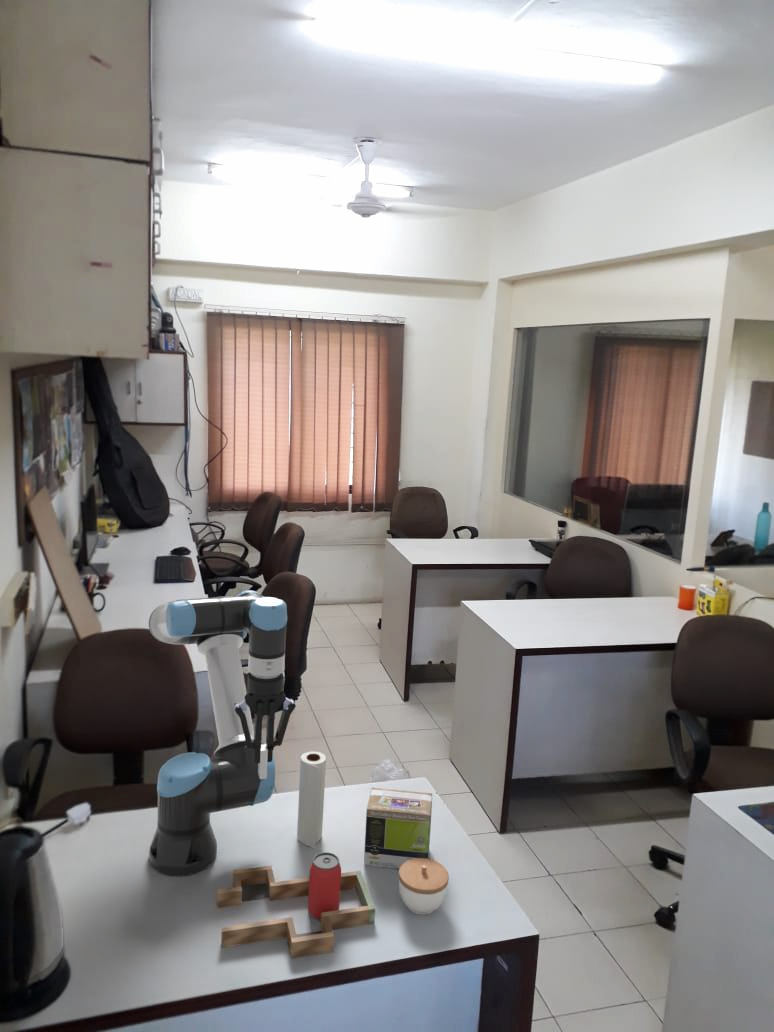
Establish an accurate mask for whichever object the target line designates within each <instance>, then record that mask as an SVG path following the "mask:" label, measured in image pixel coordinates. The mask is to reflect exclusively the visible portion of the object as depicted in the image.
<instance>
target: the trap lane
mask: <svg viewBox="0 0 774 1032" xmlns="http://www.w3.org/2000/svg"><path fill="white" fill-rule="evenodd" d="M349 890H355V891H356V894H357V896H358V900H359V901H360V904H361V906H357V907H349V908H343V909H339V910H336V911H329V912H322V913H321V920H320V930H317V931H310V932H305V933H299V934H297V932H296V928H295V927H296V926H295V923H294V919H293V916H290V917H283V918H277V919H269V920H261V921H256V922H247V923H244V924H235V925H229V926H228V925H227V926H222V927H221V936H220V937H221V939H220V941H221V943H220V944H221V948H226V947H234V946H238V945H239V946H240V945H245V944H251V943H258V942H264V941H266V942H267V941H271V940H277V939H283V938H284V939H285V938H286V941H287V946H288V950H289V954H290V959H296V958H302V957H307V956H309V957H310V956H313V955H319V954H320V955H321V954H326V953H333V952H335V951H334V947H335V933H334V931H336V930H340V929H349V928H354V927H362V926H366V925H367V926H368V925H373V924H374V925H375V921H376V920H375V918H376V907H375V904H374V902H373V899H372V896H371V894H370V892H369V888H368V886H367V884H366V882H365V879H364V876H363V874H362V872H361V870H355V871H347V872H341V884H340V892H342V891H349ZM216 893H217V894H216V896H217V897H216V908H217V909H222V908H229V907H235V906H237V907H238V906H242V903H243V902H249V901H255V900H263V899H264V900H265V899H269V902H270V901H271V902H272V901H273V902H274V901H277V900H278V901H279V900H287V899H292V898H299V897H309V877H305V878H296V879H288V880H280V881H276V879H275V876H274V870H273V866H272V865H270V864H269V865H264V866H257V867H249V868H243V869H242V868H239V869H233V870H232V887H229V888H227V887H226V888H221V889H220V888H219V889H217V892H216Z"/></svg>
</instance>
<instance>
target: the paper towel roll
mask: <svg viewBox="0 0 774 1032" xmlns="http://www.w3.org/2000/svg"><path fill="white" fill-rule="evenodd" d="M326 764H327V757H326V755H325V754H324V753H323V752H320V751H312V750H311V751H307V752H304V753H302V754H301V756H300V765H299V786H298V789H299V790H298V809H297V810H298V811H297V827H296V828H297V829H296V836H297V839H298V841H300V842H301V843H302V844H304V845H305V846H308V847H311V848H313V849H314V850H315V849H316V843H318V842H319V841H320V840H321V839H322V836H323V826H324V825H323V822H324V804H325V803H324V802H325V785H326V784H325V783H326V767H327V765H326Z"/></svg>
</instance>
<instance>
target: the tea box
mask: <svg viewBox="0 0 774 1032" xmlns="http://www.w3.org/2000/svg"><path fill="white" fill-rule="evenodd" d="M432 805H433V793H430V792H422V791H413V790H411V791H410V790H409V791H408V790H402V789H393V788H392V789H391V788H382V787H381V788H379V787H371V789H370V795H369V798H368V803H367V807H366V815H365V816H366V817H365V833H364V834H365V835H364V855H363V856H364V857H363V860H364V861H363V863H364V864H363V865H364V866H373V867H382V868H388V869H389V868H391V869H400V867H401V866H402V864H403V863H405V862H406V861H408V860H411V859H414V858H427V859H429V855H430V854H429V853H430V843H431V827H432V811H433V809H432V808H433V806H432Z"/></svg>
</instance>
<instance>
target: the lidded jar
mask: <svg viewBox="0 0 774 1032" xmlns="http://www.w3.org/2000/svg"><path fill="white" fill-rule="evenodd" d="M449 879H450V878H449V872H448V870H447V869H446V867H445V866H444V865H443V864H441V863H440V862H438V861H437V860H435V859H431V858H428V859H427V858H414V859H411V860H408V861H406V862H405V863H403V864H402V866H401V867H400V869H399V870H398V890H399V894H400V898H401V900H402V901H403V903H404V905H405V906H406V908H408V909H409V911H411V912H413V914H417V915H422V916H424V915H430V914H432V913H433V912H434V911H436V910H437V909H438V908H439V907H441V905H442V903H443V902H444V900H445V898H446V896H447V890H448V885H449V884H448V883H449Z"/></svg>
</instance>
